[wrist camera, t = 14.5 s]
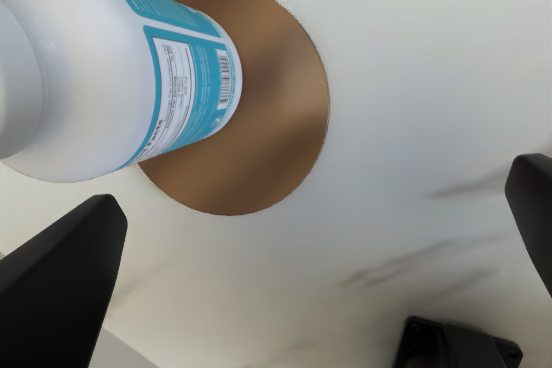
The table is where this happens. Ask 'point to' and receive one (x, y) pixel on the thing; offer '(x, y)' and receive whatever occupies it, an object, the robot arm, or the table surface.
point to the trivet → (254, 117)
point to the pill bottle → (109, 84)
